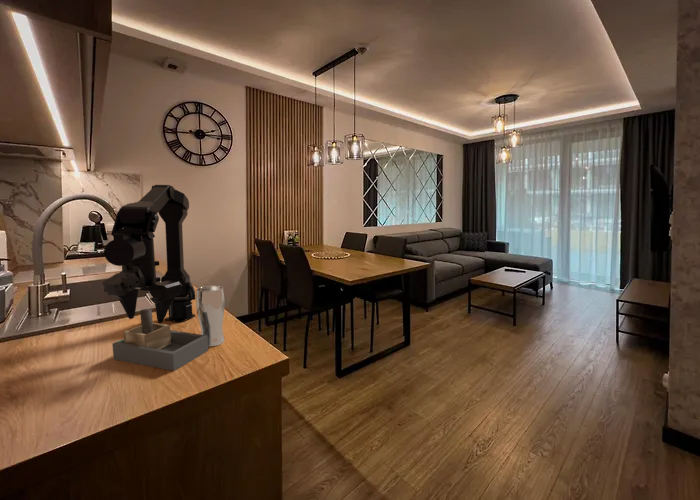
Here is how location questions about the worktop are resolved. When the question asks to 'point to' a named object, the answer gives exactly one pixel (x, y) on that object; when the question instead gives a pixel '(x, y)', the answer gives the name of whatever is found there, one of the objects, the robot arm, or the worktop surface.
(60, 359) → the worktop surface
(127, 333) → the crate
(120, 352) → the bay
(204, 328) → the beer glass
